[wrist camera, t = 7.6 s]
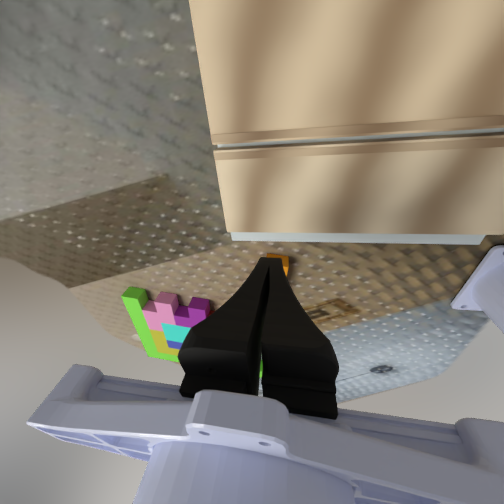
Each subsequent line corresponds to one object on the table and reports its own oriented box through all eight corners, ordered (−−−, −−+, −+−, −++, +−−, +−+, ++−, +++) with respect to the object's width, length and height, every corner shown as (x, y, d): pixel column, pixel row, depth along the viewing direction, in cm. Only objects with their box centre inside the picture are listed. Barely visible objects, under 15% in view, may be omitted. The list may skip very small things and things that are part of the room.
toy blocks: (276, 366, 37) (309, 256, 22) (275, 380, 35) (311, 270, 20) (154, 344, 39) (109, 227, 24) (148, 356, 37) (95, 238, 22)
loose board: (558, 128, 13) (580, 131, 12) (490, 227, 17) (503, 235, 16) (217, 147, 16) (213, 150, 15) (229, 225, 21) (227, 232, 20)
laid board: (697, -78, 9) (751, -101, 8) (562, 121, 13) (587, 122, 12) (196, 7, 12) (188, -1, 11) (217, 141, 16) (212, 144, 15)
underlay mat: (716, -114, 8) (724, -118, 8) (477, 243, 18) (479, 244, 18) (194, -15, 12) (193, -17, 12) (232, 239, 22) (232, 240, 22)
